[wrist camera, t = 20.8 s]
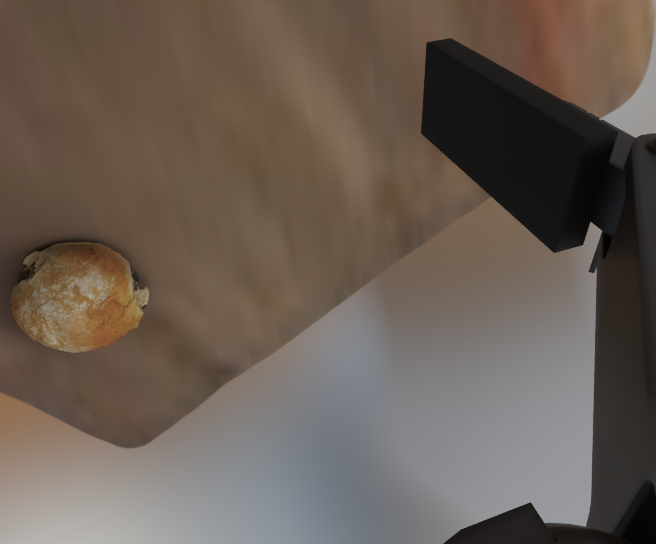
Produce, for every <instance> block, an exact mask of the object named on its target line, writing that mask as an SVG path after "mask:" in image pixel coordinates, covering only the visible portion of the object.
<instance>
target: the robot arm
mask: <svg viewBox="0 0 656 544" xmlns="http://www.w3.org/2000/svg"><path fill="white" fill-rule="evenodd" d="M421 134H422V135H424V136H425V137H426V138H427V139H428V140H429V141H430V142H431V143H432V144H434V145H435V146H436V147H437V148H438V149H439V150H440V151H441V152H442V153H444V154H445V155H446V156H447V157H448V158H449V159H450V160H451V161H452V162H454V163H455V164H456V165H457V166H458V167H459V168H460V169H461V170H462V171H464V172H465V173H466V174H467V175H468V176H469V177H470V178H471V179H472V180H474V181H475V182H476V183H477V184H478V185H479V186H480V187H481V188H482V189H484V190H485V191H486V192H487V193H488V194H489V195H490V196H491V197H492V198H494V199H495V200H496V201H497V202H498V203H499V204H500V205H501V206H503V207H504V208H505V209H506V210H507V211H508V212H509V213H510V214H511V215H512V216H514V217H515V218H516V219H517V220H518V221H519V222H520V223H522V225H524V226H525V227H526V228H527V229H528V230H529V231H530V232H531V233H532V234H534V235H535V236H536V237H537V238H538V239H539V240H540V241H541V242H543V243H544V244H545V245H546V246H547V247H548V248H549V249H550V250H551V251H553V252H554V253H556V252H560V251H563V250H567V249H570V248H574V247H577V246H581V245H583V243H584V240H585V237H586V234H587V231H588V227H589V224H590V222H592V223H593V224H594V225H596V226H597V227H598V228H600V229H601V230H602V234H601V237H600V240H599V243H598V246H597V249H596V252H595V255H594V258H593V261H592V263H591V267H590V270H589V272H592V273H594V272H595V269H596V268H597V289H596V290H597V291H596V329H595V330H596V331H595V371H594V413H593V453H592V495H591V506H590V512H589V517H588V521H587V525H586V527H584V526H578V525H573V524H561V523H544V522H543V520H542V519H541V517H540V516H539V514H538V513H537V511H536V510H535V508H534V507H533V505H532V504H531V503H528V504H525V505H523V506H520V507H518V508H515V509H512V510H510V511H507V512H505V513H502V514H500V515H497V516H495V517H492V518H490V519H487V520H484V521H482V522H479V523H477V524H474V525H472V526H469V527H466V528H464V529H461V530H460V531H459V532H457V533H456V534H455V535H454V536H452V537H451V538H450V539H449V540H447V541H446V542H445V543H444V544H656V134H646V135H641V136H639V137H637V138H635V137H633V136H631V135H629V134H627V133H625V132H624V131H622V130H620V129H618V128H617V127H615V126H613V125H611V124H609V123H607V122H606V121H604V120H599V118H598V117H597V116H595V115H593V114H591V113H587V111H586V110H584V109H582V108H580V107H578V106H577V105H575V104H573V103H571V102H567V101H564V100H561V99H559V98H557V97H555V96H554V95H552V94H550V93H548V92H547V91H545V90H543V89H541V88H539V87H538V86H536V85H534V84H532V83H530V82H529V81H527V80H525V79H523V78H521V77H520V76H518V75H516V74H514V73H512V72H511V71H509V70H507V69H505V68H503V67H502V66H500V65H498V64H496V63H494V62H493V61H491V60H489V59H487V58H485V57H484V56H482V55H480V54H478V53H477V52H475V51H473V50H471V49H469V48H468V47H466V46H464V45H462V44H460V43H459V42H457V41H455V40H453V39H451V38H450V39H444V40H438V41H432V42H427V45H426V62H425V78H424V95H423V112H422V128H421Z"/></svg>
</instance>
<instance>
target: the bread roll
mask: <svg viewBox="0 0 656 544" xmlns="http://www.w3.org/2000/svg"><path fill="white" fill-rule="evenodd" d="M23 264H25V265H27V266H26V268H25V269H24V271H23V273H22V274H21V276H20V277H19V279H18V282H17V283H16V284H15V286H14V289H13V293H12V297H11V309H12V314H13V317H14V319H15V321H16V323H17V324H18V325H19V327H20V328H21V329H22V330H23V331H24V332H25V333H26V334H27V335H28V336H29V337H30V338H31V339H33V340H34V341H38V342H40V343H42V344H44V345H46V346H48V347H50V348H54V349H57V350H61V351H67V352H75V353H76V352H85V351H90V350H94V349H99V348H103V347H106V346H109V345H111V344H113V343H115V342H117V340H118V339H120V338H121V337H122V336H124V335H125V334H126V333H128V332H129V331H131V330H133V329H136V328H137V327H138V324H139V322H140V319H141V317H142V316H143V314H144V312H143V310H142V308H144V307H146V304H147V303H148V301H149V298H148V296H149V291H148V289H147V287H146V286H145V288H141V289H139V288H138V283H139V281H140V277H139V276H138V275H137V274H136V273H133V272H132V271H131V268H130V264H129V262H128V261H127V260H126V259H124V258H123V257H122V256H121V255H120V253H117V252H115V251H113V250H112V249H110V248H108V247H106V246H104V245H102V244H99V243H98V244H95V243H88V242H85V241H83V242H76V243H74V242H68V243H59V244H55V245H52V246H51V247H49V248H47V249H45V250H43V251H41V252H39V251H34V252H32V253H31V254H30V255H28V256H27V257H26V258H25V260H24V262H23Z"/></svg>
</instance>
